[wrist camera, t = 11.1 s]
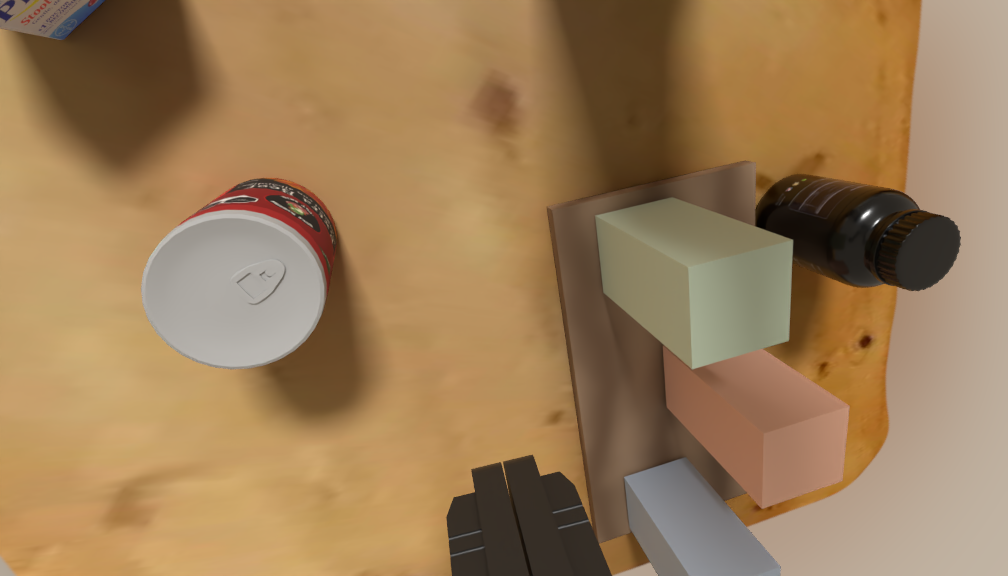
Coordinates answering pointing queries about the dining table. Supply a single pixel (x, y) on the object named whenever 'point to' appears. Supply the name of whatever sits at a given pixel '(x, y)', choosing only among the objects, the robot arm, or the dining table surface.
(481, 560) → the robot arm
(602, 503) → the wooden board
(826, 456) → the terracotta block
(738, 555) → the slate block
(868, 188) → the supplement bottle
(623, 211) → the sage block
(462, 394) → the dining table surface
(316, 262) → the canned food
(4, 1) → the medicine box
